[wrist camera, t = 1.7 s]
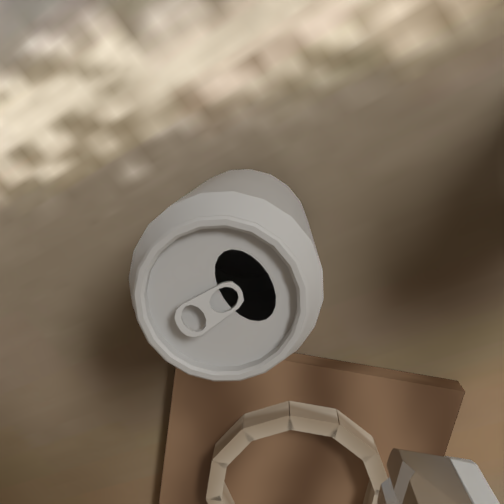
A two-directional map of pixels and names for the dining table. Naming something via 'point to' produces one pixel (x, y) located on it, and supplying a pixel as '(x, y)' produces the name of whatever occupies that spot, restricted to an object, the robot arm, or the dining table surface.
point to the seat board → (300, 432)
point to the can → (228, 277)
